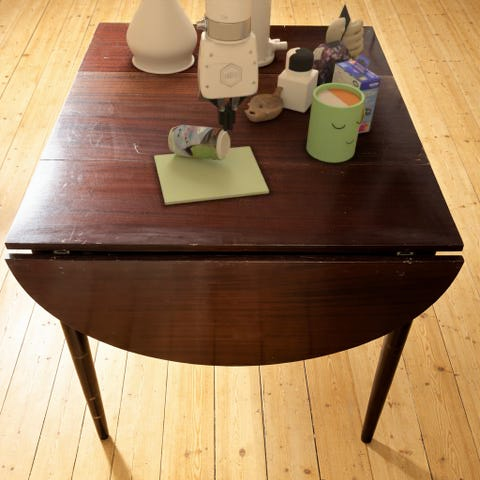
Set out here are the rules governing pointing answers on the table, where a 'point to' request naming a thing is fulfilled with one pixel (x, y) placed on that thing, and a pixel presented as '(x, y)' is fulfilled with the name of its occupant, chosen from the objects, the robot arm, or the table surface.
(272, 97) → the oil lamp
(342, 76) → the ink cartridge box
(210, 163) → the mat
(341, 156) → the mug
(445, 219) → the table surface
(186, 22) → the vase
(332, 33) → the decorative object
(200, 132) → the beverage can
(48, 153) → the table surface
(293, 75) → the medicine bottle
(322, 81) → the mineral specimen
